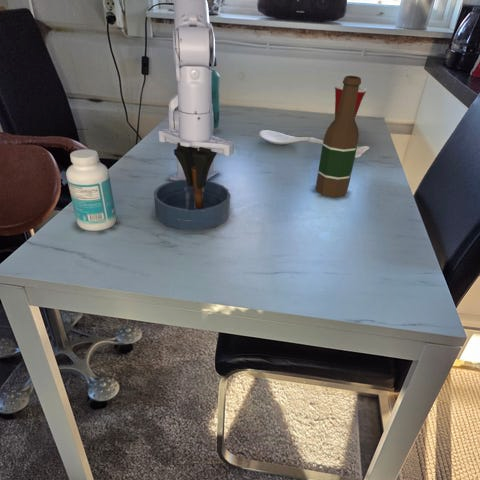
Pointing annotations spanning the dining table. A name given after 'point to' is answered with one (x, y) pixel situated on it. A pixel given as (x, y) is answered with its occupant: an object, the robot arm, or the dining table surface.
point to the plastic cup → (339, 91)
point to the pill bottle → (91, 191)
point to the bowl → (191, 205)
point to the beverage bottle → (215, 94)
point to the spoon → (297, 140)
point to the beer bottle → (340, 144)
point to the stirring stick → (197, 191)
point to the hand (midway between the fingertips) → (196, 185)
